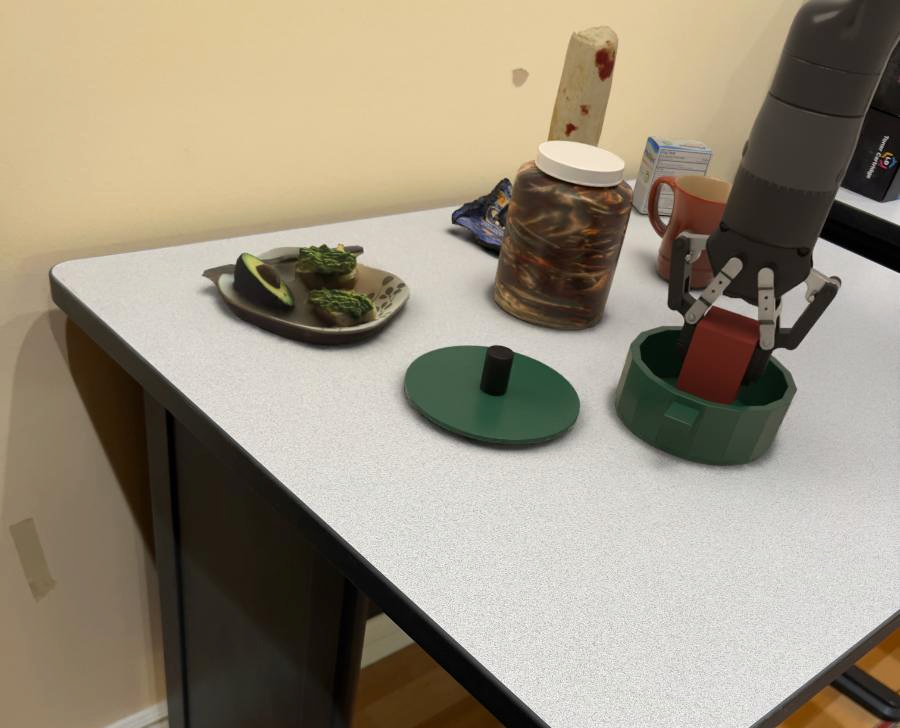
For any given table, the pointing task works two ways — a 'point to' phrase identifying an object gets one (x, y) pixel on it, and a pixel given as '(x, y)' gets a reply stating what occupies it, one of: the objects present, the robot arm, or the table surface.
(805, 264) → the robot arm
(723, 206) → the mug
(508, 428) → the pot lid
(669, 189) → the medicine box
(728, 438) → the pot
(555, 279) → the jar
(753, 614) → the table surface
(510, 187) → the snack package
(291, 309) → the plate of avocado toast
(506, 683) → the table surface
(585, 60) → the food model
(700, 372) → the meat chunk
